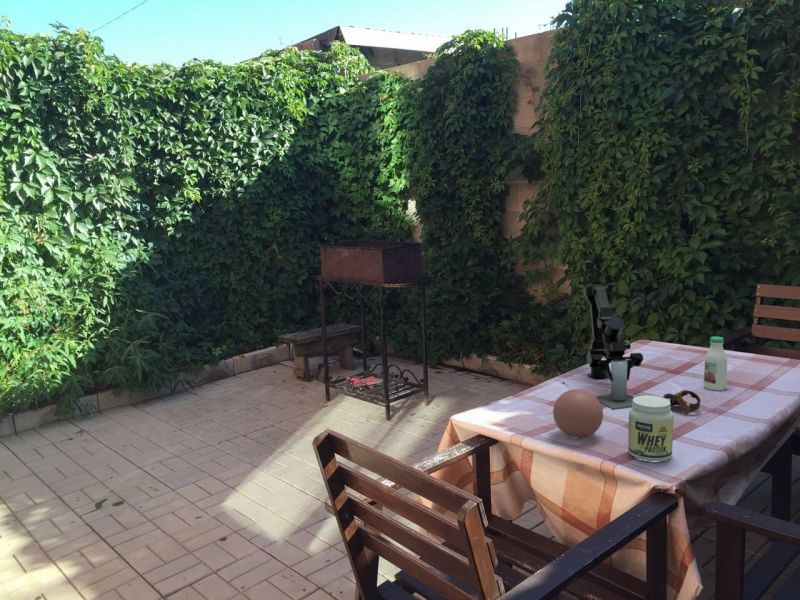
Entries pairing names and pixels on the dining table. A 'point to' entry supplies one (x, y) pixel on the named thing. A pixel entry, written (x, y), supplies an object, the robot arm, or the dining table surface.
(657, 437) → the supplement tub
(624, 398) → the tumbler
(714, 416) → the dining table surface
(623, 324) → the robot arm
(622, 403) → the coaster mat
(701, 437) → the dining table surface
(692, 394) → the brown black curved piece
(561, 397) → the brown rubber ball
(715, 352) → the milk bottle
